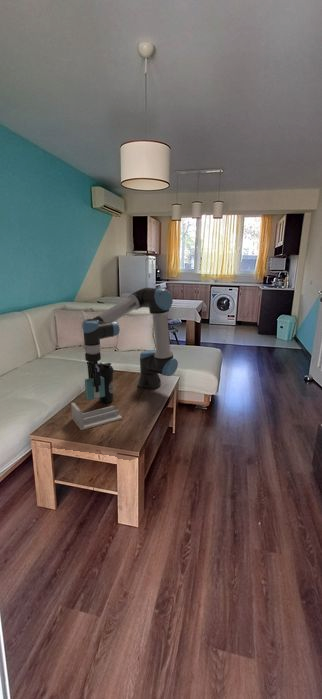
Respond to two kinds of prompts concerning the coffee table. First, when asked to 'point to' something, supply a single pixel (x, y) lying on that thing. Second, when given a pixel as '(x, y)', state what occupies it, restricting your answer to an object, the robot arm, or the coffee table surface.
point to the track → (94, 416)
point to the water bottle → (107, 382)
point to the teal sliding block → (90, 388)
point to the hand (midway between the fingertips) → (95, 395)
